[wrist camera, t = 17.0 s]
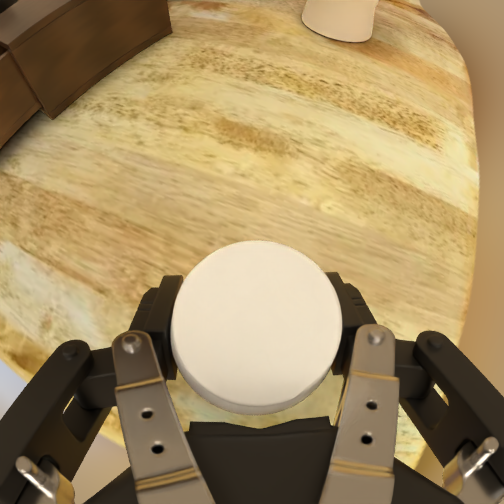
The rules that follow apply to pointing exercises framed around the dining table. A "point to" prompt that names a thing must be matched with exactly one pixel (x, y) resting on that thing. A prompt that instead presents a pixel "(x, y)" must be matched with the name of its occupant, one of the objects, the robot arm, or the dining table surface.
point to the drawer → (14, 97)
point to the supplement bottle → (255, 327)
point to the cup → (341, 18)
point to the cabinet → (77, 42)
